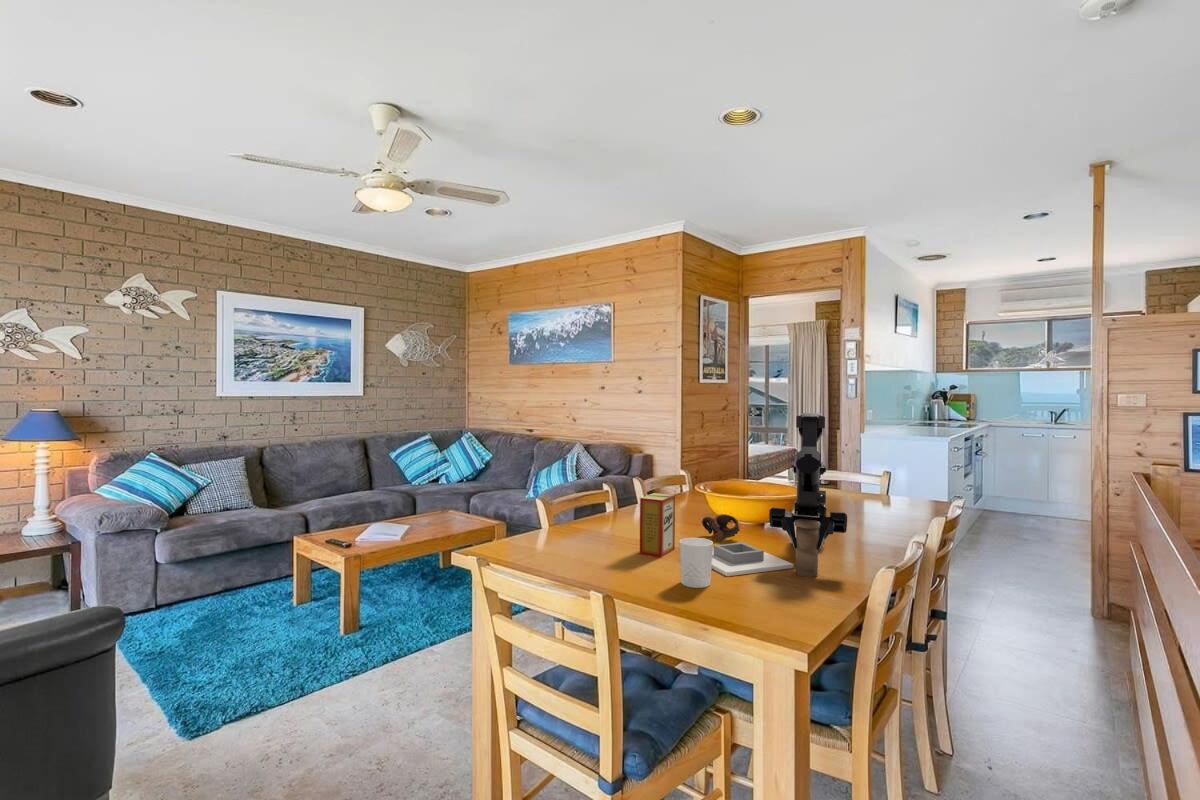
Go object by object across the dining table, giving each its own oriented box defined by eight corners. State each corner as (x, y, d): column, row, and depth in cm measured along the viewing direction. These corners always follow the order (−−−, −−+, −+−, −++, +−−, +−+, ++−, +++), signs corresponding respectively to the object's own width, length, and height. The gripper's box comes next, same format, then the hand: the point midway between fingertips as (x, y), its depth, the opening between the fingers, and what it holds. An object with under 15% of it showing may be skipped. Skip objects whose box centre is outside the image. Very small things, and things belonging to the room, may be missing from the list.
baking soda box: (661, 557, 164) (661, 499, 164) (639, 554, 167) (640, 496, 167) (674, 549, 172) (675, 493, 172) (653, 546, 176) (654, 491, 175)
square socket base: (747, 548, 174) (747, 536, 174) (793, 567, 155) (793, 554, 155) (686, 555, 166) (686, 542, 166) (727, 576, 148) (727, 562, 148)
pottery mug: (740, 536, 190) (744, 517, 185) (731, 556, 182) (735, 536, 178) (704, 523, 194) (707, 504, 190) (694, 542, 187) (697, 522, 182)
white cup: (689, 576, 148) (690, 535, 148) (718, 583, 143) (719, 541, 143) (672, 584, 142) (672, 542, 142) (701, 591, 137) (702, 547, 137)
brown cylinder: (808, 568, 154) (808, 518, 154) (824, 575, 149) (825, 523, 148) (788, 571, 152) (789, 520, 152) (804, 578, 147) (805, 525, 146)
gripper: (770, 476, 157) (766, 527, 147) (847, 480, 150) (849, 534, 140) (771, 501, 164) (768, 551, 154) (845, 506, 158) (847, 559, 148)
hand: (806, 548), depth 149 cm, fingers closed on brown cylinder, 5 cm apart
